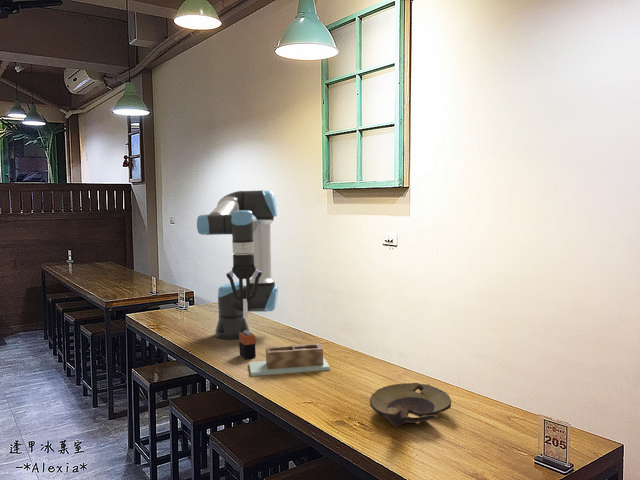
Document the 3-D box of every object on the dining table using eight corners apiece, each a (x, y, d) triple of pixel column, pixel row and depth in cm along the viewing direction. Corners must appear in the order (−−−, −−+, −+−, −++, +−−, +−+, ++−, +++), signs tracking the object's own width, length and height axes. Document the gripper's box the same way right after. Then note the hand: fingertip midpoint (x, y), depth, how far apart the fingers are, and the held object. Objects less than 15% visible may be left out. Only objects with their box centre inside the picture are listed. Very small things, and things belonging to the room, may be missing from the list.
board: (251, 376, 186) (250, 364, 185) (249, 365, 197) (248, 354, 197) (329, 369, 191) (329, 358, 190) (323, 359, 202) (323, 348, 202)
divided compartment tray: (267, 369, 189) (267, 352, 188) (266, 363, 196) (265, 347, 195) (323, 365, 192) (323, 348, 192) (319, 359, 199) (319, 343, 199)
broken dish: (468, 414, 151) (468, 387, 151) (399, 448, 132) (399, 418, 131) (406, 392, 168) (406, 369, 167) (337, 420, 148) (336, 394, 148)
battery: (245, 359, 204) (244, 334, 203) (239, 355, 210) (238, 330, 209) (256, 357, 206) (255, 332, 205) (249, 353, 212) (248, 328, 211)
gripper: (225, 255, 187) (227, 321, 190) (262, 254, 189) (264, 318, 192) (224, 252, 194) (227, 316, 197) (260, 251, 197) (262, 313, 199)
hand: (245, 317), depth 195 cm, fingers closed
